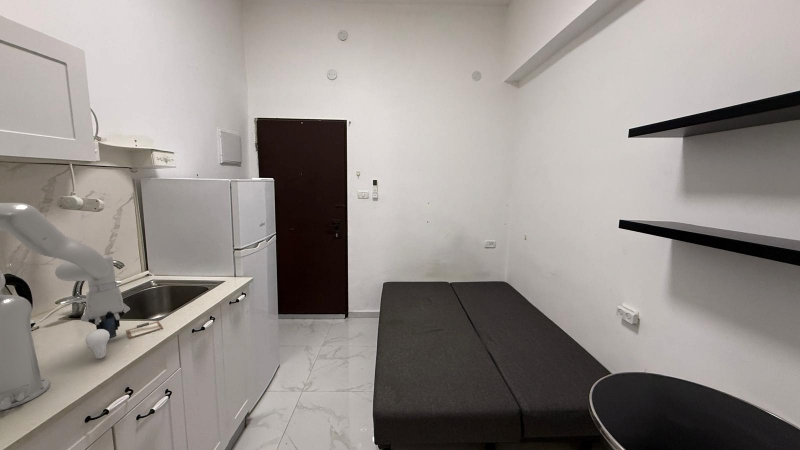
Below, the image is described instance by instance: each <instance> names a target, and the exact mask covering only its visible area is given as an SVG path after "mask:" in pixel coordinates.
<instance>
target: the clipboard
mask: <svg viewBox="0 0 800 450" xmlns="http://www.w3.org/2000/svg"><path fill="white" fill-rule="evenodd" d="M160 329H161V330H164V327H163V325H162V324H161V322H160V321H158V320H157V321H153V322H151V323H150V322H149V321H148V322H145V323H141V324H138V325H136V327H133V328H129V329H126V330H125V332H126V335H127V338H128V340H131V339H134V338H138V337H141V336H144V335H148V334H150V333H155V332H159V331H161V330H160Z"/></svg>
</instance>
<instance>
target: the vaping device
mask: <svg viewBox="0 0 800 450" xmlns="http://www.w3.org/2000/svg"><path fill="white" fill-rule="evenodd" d="M114 318H115V316H114V314H113V313H111V311H109V312H107V314H106V315H105V316H101V317H100V323H101V326H102V329H104V330H107V331H108V332H109V334H110V337H109V340H110V339H114V338H116V337H117V330H116V328H115V319H114Z"/></svg>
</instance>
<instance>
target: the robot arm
mask: <svg viewBox="0 0 800 450" xmlns="http://www.w3.org/2000/svg"><path fill="white" fill-rule="evenodd" d="M0 232H7V233H8V234H10V235H11V236H12V237H13V238H15V239H16V240H17V241H18V242H20V243H21V244H22V245H23V246H24V247H26V248H27V249H28V250H29V251H31V252H33V253H35V254H37V255H40V256H43V257H48V258H53V259H59V260H62V261H64V262H62V263H60V264H59V265H57V267H56V269H55V270H54V271H55V272H54V274H55V277H57V279H58V280H61V281H64V282H85V281H86V282H87V286H88V291H87V292H86V296H85V306H86V311H85V313H84V314H83V315H82V316H81V318H80V321H81V322H86V323H90V324H92V325H94V326H95V328H96V329H95V330H97V329H102V326H101V323H100V322H101V318H102V317H105V315H106V314H107V312H109V311H111V313H113V314H114V319H115V328H116V331H118V330H119V327H121V325H120V324H121V323H120V319H121V318H122V317H123V316H124V315H125V314H126V313H127V312H129V311H130V310H131V308H130V307H129V306H128V305H127V304H126V303H124V300H123V296H122V292H121V289H120V287H119V285H122V281H121V280H116V272H115V266H114V260H113V256H111V255H109V254H102V255H101V254H100V253H99V251H98V250H96V249H94V248H93V247H91V246H88V245H87V244H86V243H85V244H84V243H82V242H80V241H78V240H76V239H73V238H71V237H69V236H66V235H65V234H63V232H61V231H60V230H59V229H58V228H57V226H55V224H53V223H52V222H51V221H50V220H49V219H48V218H47V217H46V216H45V215H44V214H43V213H42V212H41V211H39V210H38V209H37V208H36V207H35V206H33V205H31V204H28V203H23V202H0ZM5 285H6V278H5V275H4V274H3V271H2V270H1V269H0V291H1V290H3V289H4V287H5ZM32 310H33V309H32V304H31V302H30V301H29V300H28V299H27V298H25V297H23V296H19V295H13V294H0V411H5V410H8V409H11V408H14V407H17V406H20V405H23V404H24V403H25V404H26V403H27V402H29V401H31V400H34V399H35V398H37V397H39V396H41V395H42V394H43V393H45V392H47V390H49V388H50V387H51V384H52V383H51V380H50V379H48V378H42V376H41V371H40V366H39V362H38V357H37V352H36V347H35V344H34V338H33V335H32V334H33V333H32V326H31V324H32V323H31V320H32V319H31V318H32Z"/></svg>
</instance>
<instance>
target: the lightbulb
mask: <svg viewBox="0 0 800 450" xmlns="http://www.w3.org/2000/svg"><path fill="white" fill-rule="evenodd" d="M109 337H110V334H109V332H108V331H107V330H104V329H93V330H92V331H89V332H88V334H87V335H86V337H85V339H84V341H85V344H86V345H87V347H90V348H91V349H92V352H93V354H94V356H95V358H96V359H103V358H105V356H106V354H107V353H106V352H107V344H108V342H109V340H110V339H109Z"/></svg>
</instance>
